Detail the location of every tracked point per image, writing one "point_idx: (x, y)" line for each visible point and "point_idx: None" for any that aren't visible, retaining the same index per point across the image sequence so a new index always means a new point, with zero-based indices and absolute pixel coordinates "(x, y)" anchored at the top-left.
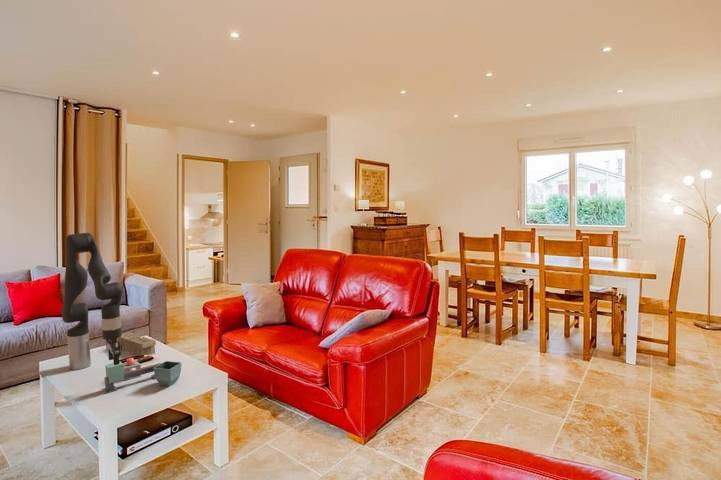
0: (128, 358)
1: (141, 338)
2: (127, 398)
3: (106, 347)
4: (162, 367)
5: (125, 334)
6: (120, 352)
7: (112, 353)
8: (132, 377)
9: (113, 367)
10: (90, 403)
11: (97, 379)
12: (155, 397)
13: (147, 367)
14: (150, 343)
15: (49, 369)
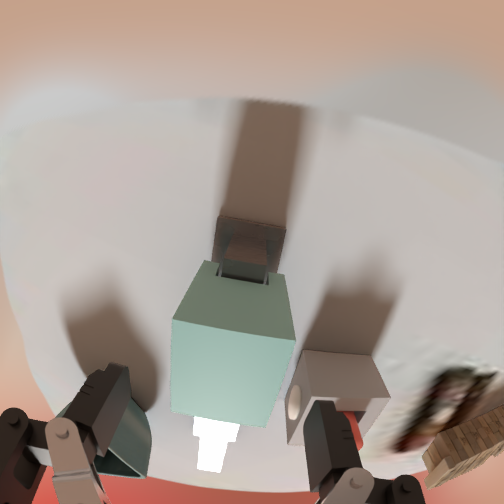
0: (359, 446)
1: (481, 461)
2: (81, 259)
3: (415, 495)
4: (130, 450)
5: None
6: (18, 462)
7: (78, 462)
8: (294, 378)
9: (174, 352)
10: (157, 120)
11: (440, 276)
12: (38, 318)
13: (210, 442)
14: (434, 478)
15: None
